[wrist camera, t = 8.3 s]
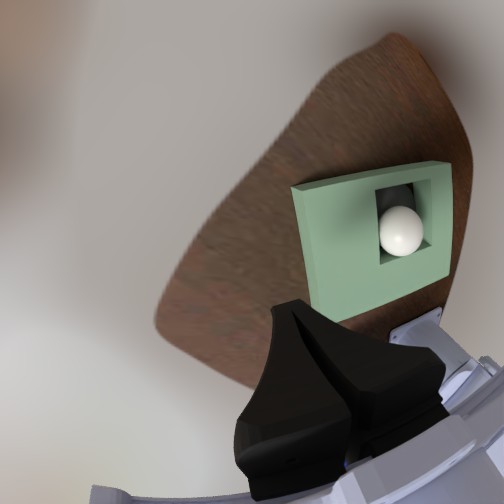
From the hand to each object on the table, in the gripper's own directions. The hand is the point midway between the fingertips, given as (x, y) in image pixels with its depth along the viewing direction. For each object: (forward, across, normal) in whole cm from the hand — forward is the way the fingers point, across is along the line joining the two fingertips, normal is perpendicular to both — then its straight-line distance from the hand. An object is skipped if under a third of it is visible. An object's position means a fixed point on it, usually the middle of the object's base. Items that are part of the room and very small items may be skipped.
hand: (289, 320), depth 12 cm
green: (+9, -11, +2) cm, 14 cm away
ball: (+7, -11, +1) cm, 13 cm away
